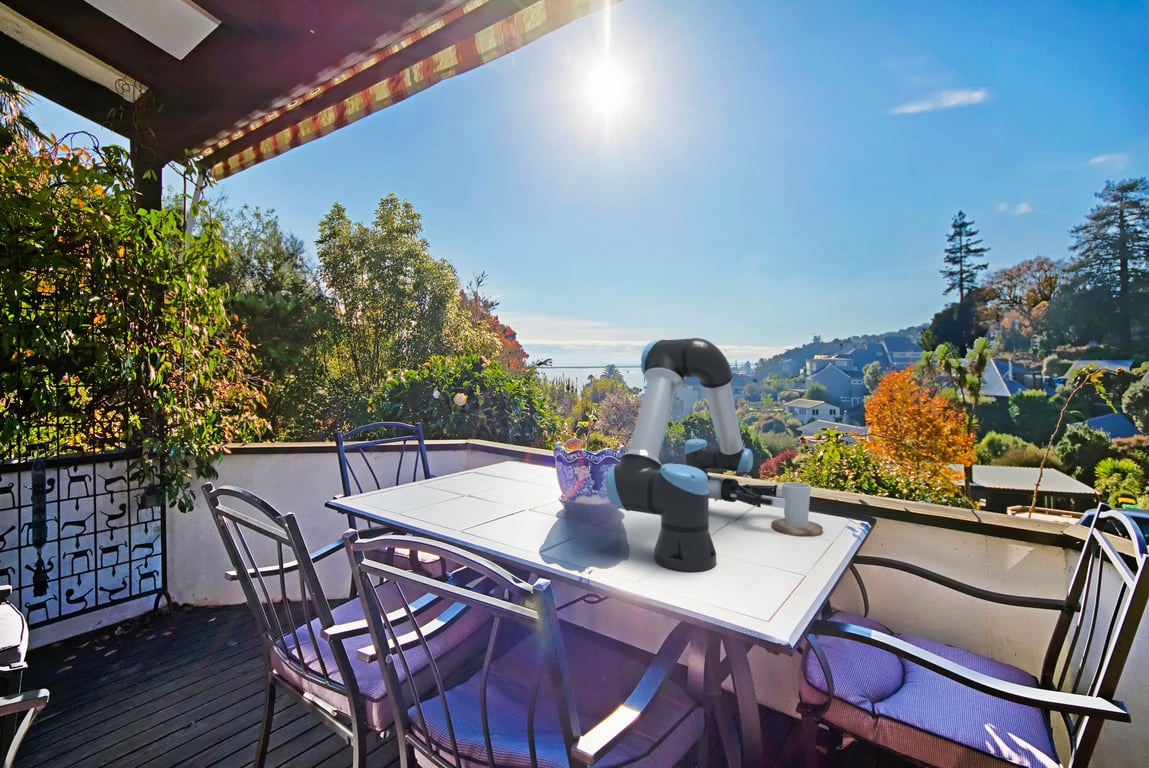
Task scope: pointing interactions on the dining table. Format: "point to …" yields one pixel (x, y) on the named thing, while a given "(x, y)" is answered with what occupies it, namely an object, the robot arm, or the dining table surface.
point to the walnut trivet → (811, 530)
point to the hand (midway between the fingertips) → (791, 499)
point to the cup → (796, 504)
